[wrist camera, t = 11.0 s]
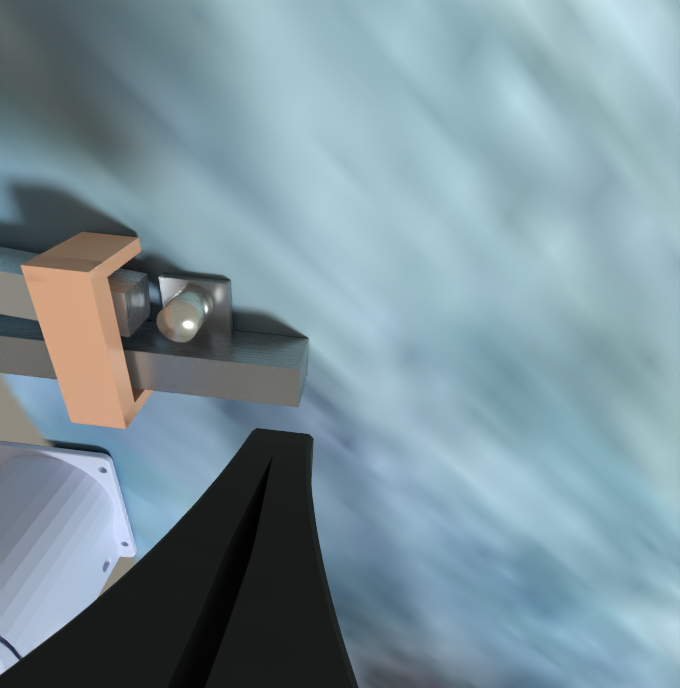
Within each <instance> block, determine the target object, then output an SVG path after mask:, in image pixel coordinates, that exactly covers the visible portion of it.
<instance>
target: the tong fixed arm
mask: <svg viewBox="0 0 680 688" xmlns="http://www.w3.org/2000/svg"><path fill="white" fill-rule="evenodd" d="M159 282H160V289H161V296H162V302H163V309H162V310H161V311H160V312H159V314H158V316H157V322H153V321H144V322H143V323H142V324H141V325H140V326H139V327H138V328H137V330H136V331H135V332H134V333H133V334H132V335H131V336H130V337H125V336H120V338H121V342H122V347H123V351H124V356H125V361H126V365H127V370H128V374H129V379H130V384H131V388H137V389H145V390H154V391H163V392H171V393H180V394H189V395H197V396H206V397H215V398H223V399H232V400H241V401H249V402H258V403H267V404H275V405H284V406H293V407H299V404H300V400H301V396H302V392H303V388H304V384H305V380H306V376H307V366H308V343H309V339H308V338H299V337H289V336H280V335H271V334H262V333H253V332H244V331H235V330H234V329H233V312H232V295H231V281H230V280H221V279H211V278H202V277H192V276H183V275H173V274H164V273H162V274H161V275H160V276H159ZM0 373H7V374H15V375H24V376H33V377H41V378H50V379H57V376H56V373H55V370H54V367H53V364H52V361H51V358H50V355H49V352H48V349H47V345H46V342H45V339H44V336H43V333H42V330H41V327H40V324H39V321H36V320H31V319H25V318H20V317H14V316H8V315H3V314H0Z"/></svg>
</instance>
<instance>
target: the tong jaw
mask: <svg viewBox="0 0 680 688" xmlns="http://www.w3.org/2000/svg"><path fill="white" fill-rule="evenodd" d="M38 255H40V254H38V253H33V252H27V251H22V250H16V249H11V248H5V247H0V314H3V315H8V316H14V317H20V318H25V319H31V320H36V321H38V318H37V315H36V311H35V308H34V305H33V302H32V299H31V296H30V293H29V290H28V287H27V284H26V281H25V277H24V274H23V271H22V268H21V265H22V264H23V263H25V262H27V261H29V260H31V259H33V258H35V257H36V256H38ZM107 278H108V282H109V287H110V292H111V296H112V301H113V305H114V310H115V315H116V319H117V324H118V328H119V333H120V336H125V337H130V336H131V335H132V334H133V333H134V332H135V331H136V330H137V328H138V327H139V326H140V325H141V324H142V323H143V322H144V321H145V320H146V319H147V318H148V317H149V316H150V315H151V310H150V297H149V284H148V273H142V272H137V271H131V270H126V269H120V268H119V269H117V270H116V271H115V272H113V273H112V274H111V275H109V276H108V277H107Z"/></svg>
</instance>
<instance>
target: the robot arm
mask: <svg viewBox="0 0 680 688" xmlns="http://www.w3.org/2000/svg"><path fill="white" fill-rule="evenodd" d="M313 440H314V439H313V438H312V437H311V436H310V435H309V434H303V433H294V432H286V431H277V430H269V429H260V428H256V429H255V430H253V431H252V432H251V434H250V435H249V437H248V438H247V439H246V441H245V442H244V444H243V445H242V446H241V448H240V449H239V451H238V452H237V453H236V455H235V456H234V457H233V458H232V460H231V461H230V462H229V464H228V465H227V466H226V467H225V469H224V470H223V471H222V472H221V474H220V475H219V476H218V477H217V478H216V480H215V481H214V482H213V483H212V484H211V486H210V487H209V488H208V489H207V490H206V491H205V493H204V494H203V495H202V496H201V497H200V499H199V500H198V501H197V502H196V503H195V504H194V505H193V506H192V508H191V509H190V510H189V511H188V512H187V513H186V514H185V515H184V516H183V517H182V518H181V519H180V520H179V521H178V522H177V524H176V525H175V526H174V527H173V528H172V529H171V530H170V531H169V532H168V533H167V534H166V535H165V536H164V537H163V538H162V539H161V540H160V541H159V542H158V543H157V544H156V545H155V546H154V547H153V548H152V549H151V550H150V551H149V552H148V553H147V554H146V555H145V556H144V557H143V558H142V559H141V560H140V561H139V562H138V563H136V564H135V565H134V566H133V567H132V568H131V569H130V570H129V571H128V572H127V573H126V574H125V575H124V576H122V577H121V578H120V579H119V580H118V581H117V582H116V583H115V584H113V585H112V586H111V587H110V588H109V589H108V590H106V591H105V592H104V593H103V594H102V595H101V596H100V597H98V595H99V594H100V592H101V590H102V588H103V586H104V584H105V583H106V581H107V579H108V577H109V575H110V573H111V571H112V570H113V568H114V566H115V564H116V562H117V560H118V559H119V557H120V556H124V557H133V556H134V555H135V554H136V552H137V548H136V544H135V541H134V537H133V534H132V530H131V526H130V523H129V519H128V515H127V512H126V508H125V504H124V501H123V497H122V494H121V490H120V486H119V483H118V479H117V475H116V472H115V468H114V465H113V461H112V459H111V457H110V456H109V455H107V454H104V453H96V452H88V451H80V450H72V449H63V448H55V447H47V446H39V445H30V444H22V443H14V442H6V441H0V688H358V685H357V681H356V678H355V675H354V672H353V669H352V666H351V663H350V660H349V657H348V654H347V651H346V647H345V644H344V641H343V638H342V634H341V631H340V627H339V624H338V620H337V617H336V613H335V609H334V606H333V602H332V598H331V594H330V590H329V586H328V582H327V578H326V573H325V569H324V564H323V559H322V554H321V549H320V544H319V539H318V533H317V527H316V521H315V513H314V505H313V498H312V487H311V479H312V459H313ZM97 597H98V598H97Z"/></svg>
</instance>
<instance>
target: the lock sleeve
mask: <svg viewBox="0 0 680 688" xmlns="http://www.w3.org/2000/svg"><path fill="white" fill-rule="evenodd" d="M140 252H141V247H140V241H139V237H129V236H120V235H110V234H100V233H91V232H81V233H79V234H77V235H75V236H73V237H71V238H70V239H68V240H66V241H64V242H62V243H60V244H59V245H57V246H55V247H53V248H51V249H49V250H47V251H46V252H44V253H42V254H40V255H38V256H36V257H35V258H33V259H31V260H29V261H27V262H25V263H23V264H22V265H21V268H22V271H23V274H24V277H25V281H26V284H27V287H28V290H29V293H30V296H31V299H32V302H33V305H34V308H35V311H36V315H37V318H38V321H39V324H40V327H41V330H42V333H43V336H44V339H45V342H46V345H47V349H48V352H49V355H50V358H51V361H52V364H53V367H54V370H55V373H56V376H57V379H58V383H59V386H60V389H61V392H62V395H63V398H64V401H65V404H66V407H67V410H68V413H69V417H70V420H71V422H73V423H81V424H89V425H98V426H106V427H115V428H123V429H126V428H127V427H128V425H129V424H130V423H131V421H132V420H133V418H134V417H135V416H136V414H137V413H138V411H139V410H140V409H141V407H142V406H143V404H144V403H145V402H146V400H147V399H148V397H149V396H150V395H151V393H152V392H153V391H154V390H145V389H137V388H131V384H130V379H129V374H128V370H127V365H126V361H125V356H124V351H123V347H122V342H121V338H120V333H119V328H118V324H117V319H116V315H115V310H114V305H113V301H112V296H111V292H110V287H109V282H108V278H107V277H108V276H109V275H111V274H112V273H113V272H115V271H116V270H117V269H119V268H120V267H121V266H123V265H124V264H125V263H126V262H128V261H129V260H130V259H132V258H133V257H134V256H136V255H137V254H138V253H140Z"/></svg>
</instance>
